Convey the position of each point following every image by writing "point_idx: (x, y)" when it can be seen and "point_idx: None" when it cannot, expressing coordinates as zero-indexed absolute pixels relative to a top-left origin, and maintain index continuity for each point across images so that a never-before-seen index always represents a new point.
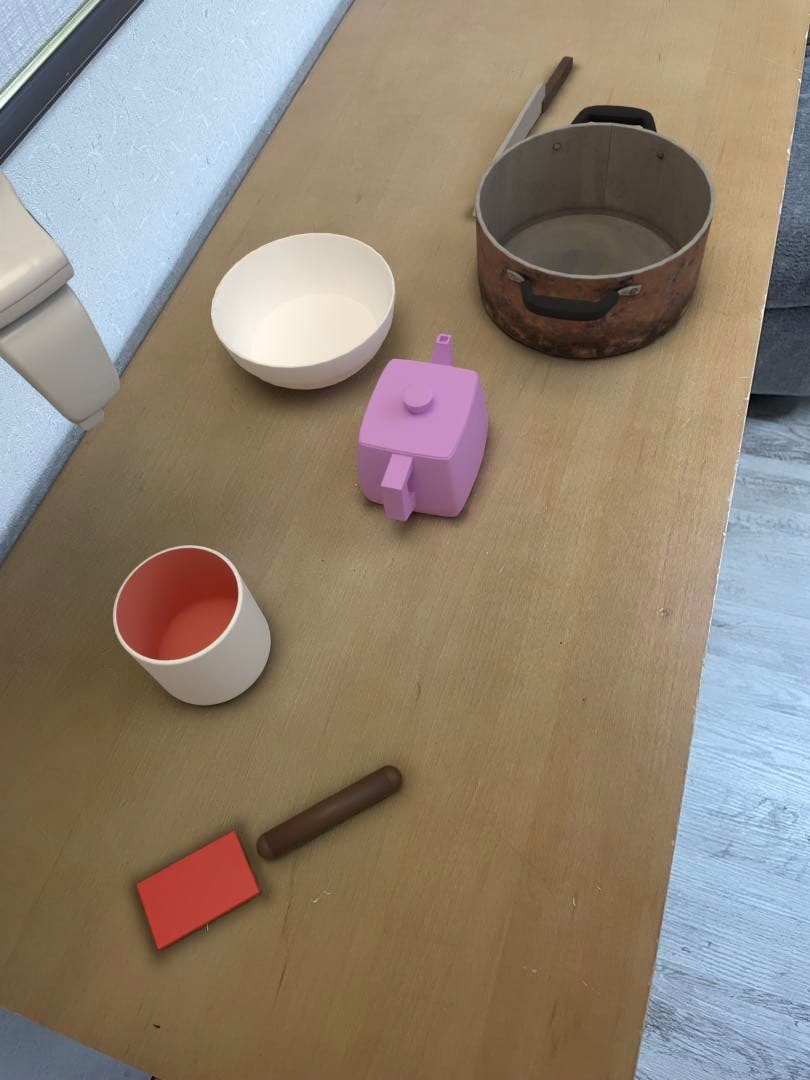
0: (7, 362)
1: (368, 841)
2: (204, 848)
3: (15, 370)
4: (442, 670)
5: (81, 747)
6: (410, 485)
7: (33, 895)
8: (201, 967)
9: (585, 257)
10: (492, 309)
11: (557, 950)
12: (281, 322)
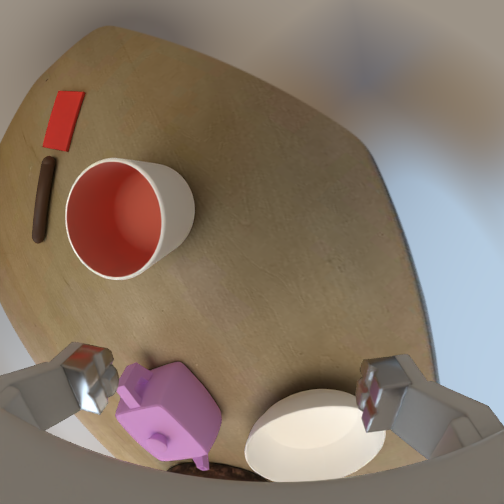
0: (28, 458)
1: (32, 205)
2: (69, 132)
3: (6, 437)
4: (68, 299)
5: (172, 95)
6: (139, 388)
7: (126, 42)
8: (45, 106)
9: None
10: (231, 473)
11: None
12: (347, 415)
